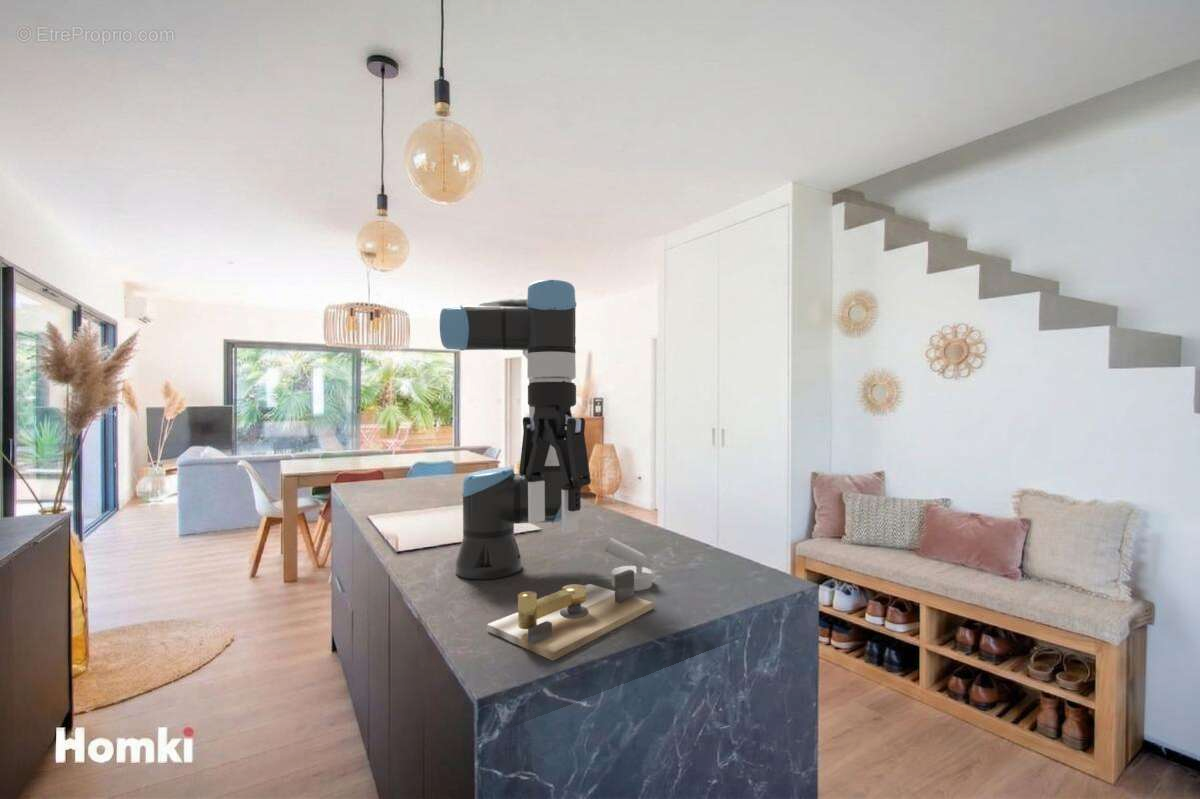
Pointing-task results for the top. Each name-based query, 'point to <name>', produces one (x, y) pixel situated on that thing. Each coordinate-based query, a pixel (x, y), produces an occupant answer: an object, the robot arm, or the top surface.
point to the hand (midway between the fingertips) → (552, 526)
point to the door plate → (576, 620)
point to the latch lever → (547, 604)
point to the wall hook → (633, 557)
